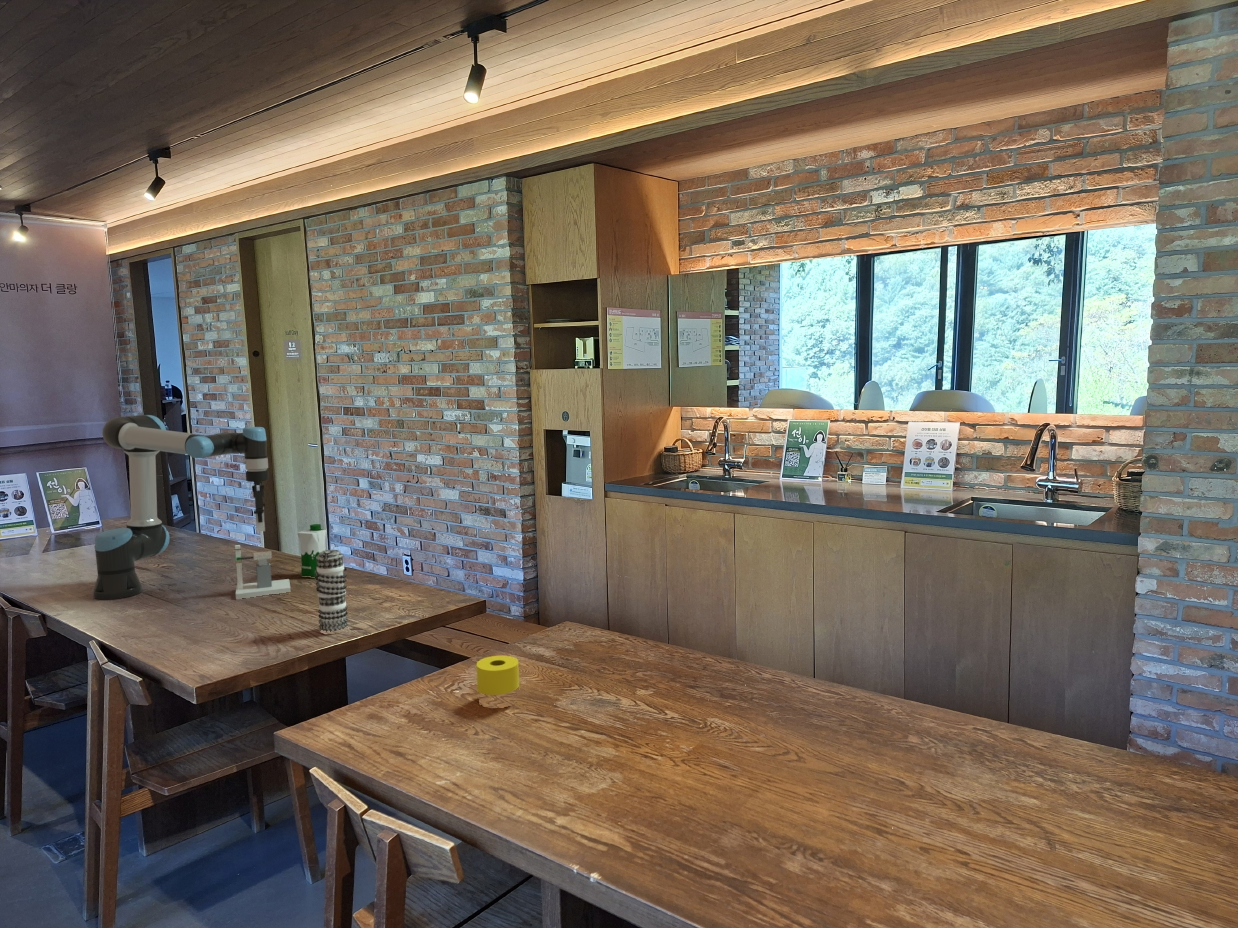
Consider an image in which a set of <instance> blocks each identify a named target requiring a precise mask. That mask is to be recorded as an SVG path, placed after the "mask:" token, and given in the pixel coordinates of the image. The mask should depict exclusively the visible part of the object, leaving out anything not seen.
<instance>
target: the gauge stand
mask: <svg viewBox="0 0 1238 928" xmlns="http://www.w3.org/2000/svg"><path fill="white" fill-rule="evenodd" d="M234 547H235V548H234V552H235V558H234V559H235V565H236V575H237V577H236V579H237V584H236V587H235V599H236V600H243V599H242V598H246V599H251V598H250V597H254V598H257V597H256V596H262V595H269V594H279V593H286V592H291V584H290V579H289V578H287V579H278V580H275V579H274V580H273V579H272V567H271V563H270V562H268V565H267V566H259V563H257V564H255V570H256V582H250V583H244V582H243V580H244V579H243V569H242V567H243V566H242V562H243V561H242V560H243V559H242V560H237V558H242V552H241V545H240V544H238V545H237V544H236V545H234ZM291 593H292V592H291Z"/></svg>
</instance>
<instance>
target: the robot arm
mask: <svg viewBox="0 0 1238 928" xmlns="http://www.w3.org/2000/svg"><path fill="white" fill-rule="evenodd" d="M101 433H102V439H103V440H104V442H105V443H106V444H107V445H108V446H110V447H112V448H113V449H114V448H115V449H119V450H120V449H122V450H123V453H125V454H126V455H128V466H129V467H128V468H129V469H128V470H129V493H130V495H129V496H130V498H129V499H130V519H129V520H128V521H127V522H126V527H119V528H113V529H108V530H104V531H102V532H99V533H98V534H97V535H96V536H95V537H94V545H93V546H94V552H95V561H96V570H97V577H96V581H95V585H94V588H93V598H94V599H96V600H117V599H124V598H129V597H132V596H136V595H138V594H141V593H142V592H143V584H142V582H141V581H140V577H139V576H138V574H137V572H136V567H135V565H136V564H135V562H136V561H140V560H143V559H147V558H152V557H155V556H156V555H159V554H161V553H163V552H165V550H166V549H167V548H168V546H169V543H170V533H169V531H168V530H167V528H166V526H165V525H163V521H162V520H161V519H159V517H158V501H157V499H158V498H157V496H158V495H157V465H156V464H157V462H156V456H157V454H159V453H160V452H166V453H171V454H172V453H173V454H180V455H188V456H190V457H191V458H193V459H205V458H209V457H210V458H211V457H217V456H223V455H230V454H232V455H233V454H243V455H244V456H243V457H244V461H243V462H242V464H243V465H244V466H245V470H246V471H245V481H247V482H249V483H253V485H251V490H252V494H253V495H252V497H253V498H254V502H255V504H254V505H255V509H254V511H253V514H254V515H255V524H256V532H257V533H258V532H266V522H265V508H264V507H266V504H265V503H264V501H263V498H264V497H265V494H264V491H265V485H264V484H262V483H263V482H266V481H268V480H269V479H270V477H269V475H270V474H269V470H268V469H269V459H268V452H267V451H268V449H267V448H268V447H267V444H268V443H267V434H266V433H267V432H266V429H265V428H264V427H262V426H247V427H244V428H243V429H242V432H227V431H226V432H225V431H224V432H218V433H215V434H214V433H213V434H207V435H204V434H200V433H199V434H197V433H189V432H182V431H175V430H167V428H166V425H165V424H164V421H162V420H161V419H160V418H159V417H157V416H156V415H151V414H138V415H128V416H116V417H114V418H111V419H110V420H108V421H106V423H105V424H104V426H103V427H102V432H101Z"/></svg>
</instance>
